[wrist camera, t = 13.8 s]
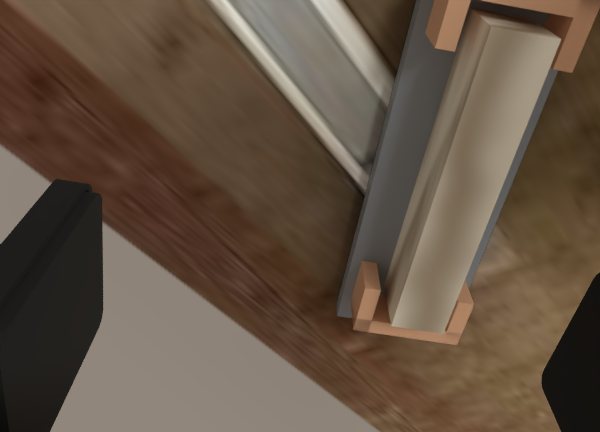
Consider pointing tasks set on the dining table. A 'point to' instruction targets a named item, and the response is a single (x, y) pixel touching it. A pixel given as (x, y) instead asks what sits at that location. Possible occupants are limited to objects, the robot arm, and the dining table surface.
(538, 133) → the dining table surface
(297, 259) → the dining table surface
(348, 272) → the board
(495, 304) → the dining table surface
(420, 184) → the slat
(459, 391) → the dining table surface
